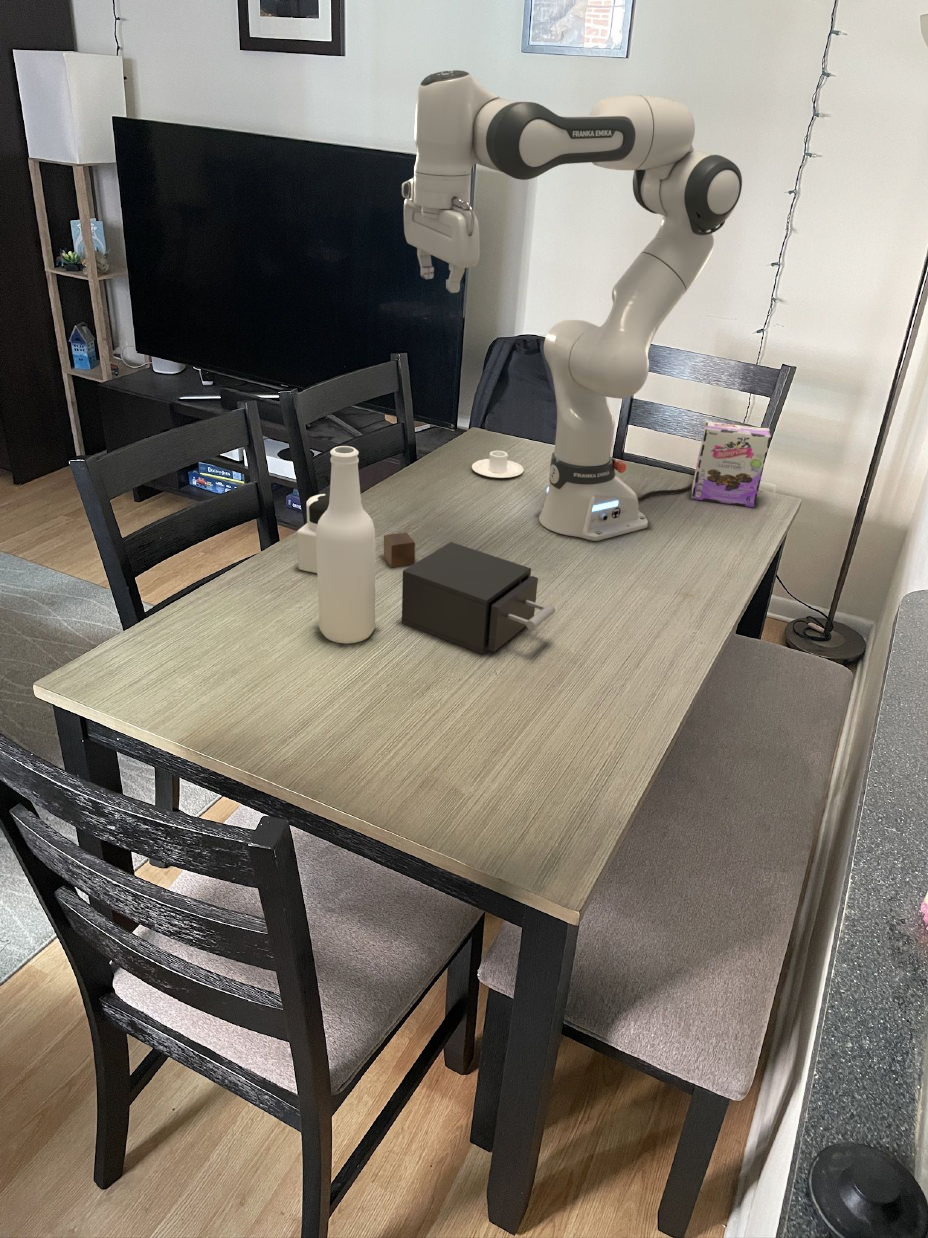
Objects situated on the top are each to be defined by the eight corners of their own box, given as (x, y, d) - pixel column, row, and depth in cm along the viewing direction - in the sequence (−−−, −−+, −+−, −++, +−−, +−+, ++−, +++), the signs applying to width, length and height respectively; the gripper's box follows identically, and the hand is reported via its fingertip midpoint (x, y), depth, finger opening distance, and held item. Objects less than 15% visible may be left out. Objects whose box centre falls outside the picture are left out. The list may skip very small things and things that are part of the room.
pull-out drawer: (560, 629, 144) (566, 586, 140) (522, 662, 135) (527, 618, 131) (460, 593, 153) (462, 552, 149) (417, 622, 144) (419, 579, 140)
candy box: (690, 499, 197) (704, 427, 189) (691, 489, 202) (704, 419, 194) (754, 508, 195) (771, 435, 187) (753, 498, 200) (770, 427, 192)
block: (406, 554, 167) (406, 532, 164) (414, 564, 163) (415, 542, 161) (383, 557, 165) (383, 534, 163) (391, 567, 161) (391, 545, 159)
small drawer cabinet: (526, 619, 148) (531, 568, 143) (482, 654, 138) (486, 600, 133) (448, 591, 155) (450, 541, 150) (401, 622, 145) (402, 570, 140)
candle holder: (474, 459, 212) (475, 442, 210) (524, 464, 211) (526, 446, 209) (469, 478, 202) (470, 459, 199) (522, 482, 201) (523, 464, 199)
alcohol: (385, 636, 141) (386, 455, 126) (334, 650, 137) (329, 464, 121) (359, 612, 147) (358, 436, 132) (310, 624, 143) (302, 444, 128)
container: (355, 560, 163) (355, 494, 157) (337, 578, 157) (335, 510, 150) (317, 552, 165) (315, 487, 159) (297, 570, 159) (294, 502, 152)
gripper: (492, 202, 133) (486, 298, 140) (431, 181, 148) (430, 269, 155) (454, 204, 130) (451, 301, 138) (397, 182, 145) (396, 271, 153)
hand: (439, 284), depth 147 cm, fingers open, 8 cm apart
